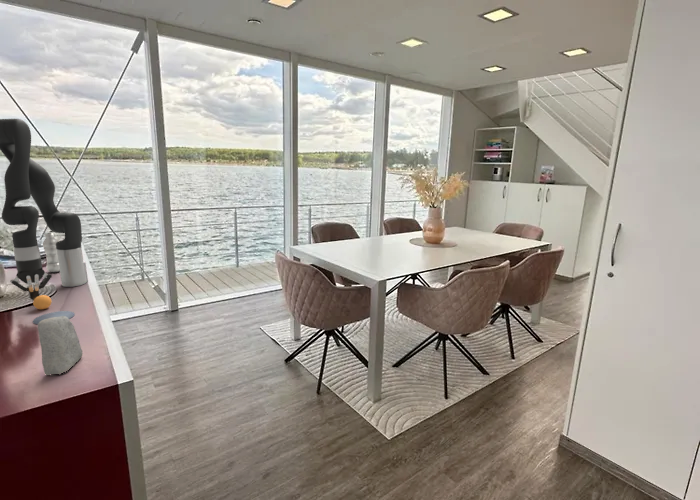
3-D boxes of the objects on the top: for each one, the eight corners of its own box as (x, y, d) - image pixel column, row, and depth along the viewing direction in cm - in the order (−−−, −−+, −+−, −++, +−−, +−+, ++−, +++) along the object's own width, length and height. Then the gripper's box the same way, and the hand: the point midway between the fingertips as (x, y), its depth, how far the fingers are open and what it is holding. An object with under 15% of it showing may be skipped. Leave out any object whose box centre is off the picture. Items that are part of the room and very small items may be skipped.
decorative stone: (67, 356, 110) (59, 308, 107) (88, 355, 110) (81, 308, 107) (40, 376, 99) (31, 324, 96) (64, 376, 100) (55, 324, 96)
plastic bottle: (66, 270, 193) (61, 232, 188) (52, 274, 186) (46, 235, 182) (58, 269, 195) (52, 231, 190) (44, 272, 188) (37, 234, 184)
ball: (43, 305, 147) (41, 292, 145) (56, 306, 146) (54, 293, 145) (30, 311, 141) (27, 297, 140) (43, 312, 141) (40, 298, 139)
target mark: (54, 310, 142) (54, 309, 142) (82, 312, 141) (82, 312, 141) (23, 323, 131) (23, 322, 131) (54, 325, 129) (54, 325, 129)
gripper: (7, 262, 137) (15, 306, 141) (51, 256, 147) (58, 297, 151) (3, 258, 142) (11, 301, 145) (46, 253, 152) (52, 293, 156)
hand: (35, 299), depth 148 cm, fingers closed
